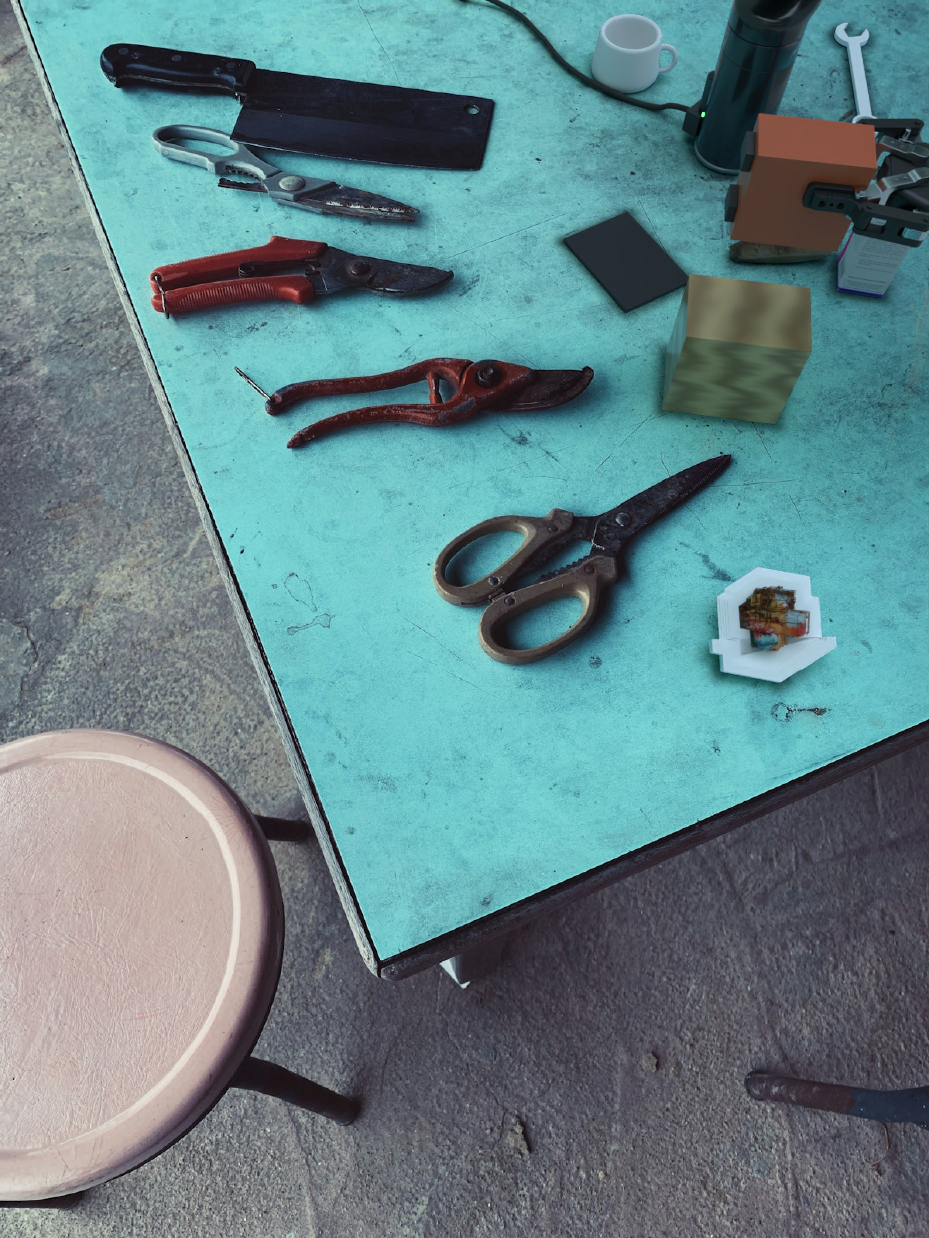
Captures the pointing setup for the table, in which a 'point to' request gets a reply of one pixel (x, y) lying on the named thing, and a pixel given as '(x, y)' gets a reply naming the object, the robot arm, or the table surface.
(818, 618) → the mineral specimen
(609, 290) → the mat
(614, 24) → the mug
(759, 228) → the block
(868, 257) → the supplement box
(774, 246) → the stone
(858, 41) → the wrench
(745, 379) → the stand
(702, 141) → the robot arm
